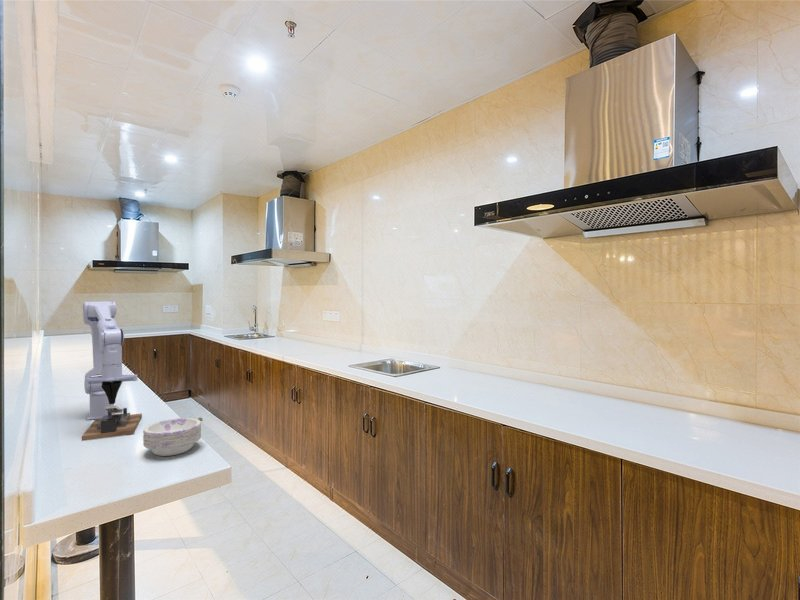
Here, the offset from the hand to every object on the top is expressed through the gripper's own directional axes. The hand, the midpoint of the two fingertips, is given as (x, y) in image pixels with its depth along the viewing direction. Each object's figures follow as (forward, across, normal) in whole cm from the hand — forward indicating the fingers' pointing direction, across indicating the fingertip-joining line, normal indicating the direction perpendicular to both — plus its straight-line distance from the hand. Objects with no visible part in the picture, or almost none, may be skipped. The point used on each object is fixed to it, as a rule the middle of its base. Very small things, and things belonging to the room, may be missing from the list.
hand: (112, 403), depth 138 cm
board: (+10, 0, +3) cm, 10 cm away
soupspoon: (+10, +23, -11) cm, 28 cm away
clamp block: (+8, 0, +1) cm, 8 cm away
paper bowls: (+10, +20, -28) cm, 36 cm away
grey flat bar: (+3, 0, +3) cm, 4 cm away
